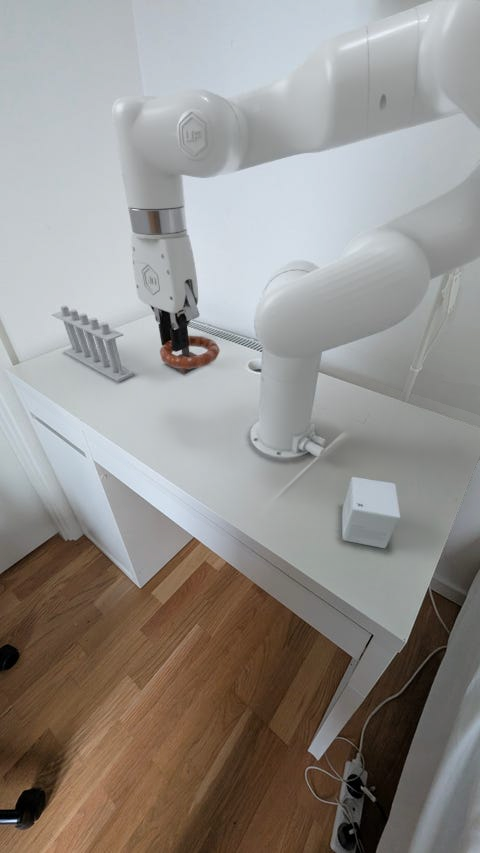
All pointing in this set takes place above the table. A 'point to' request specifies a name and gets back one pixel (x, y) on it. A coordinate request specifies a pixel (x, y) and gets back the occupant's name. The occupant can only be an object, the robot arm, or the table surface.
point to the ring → (194, 360)
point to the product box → (370, 512)
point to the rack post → (185, 354)
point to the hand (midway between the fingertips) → (175, 345)
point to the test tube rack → (93, 343)
